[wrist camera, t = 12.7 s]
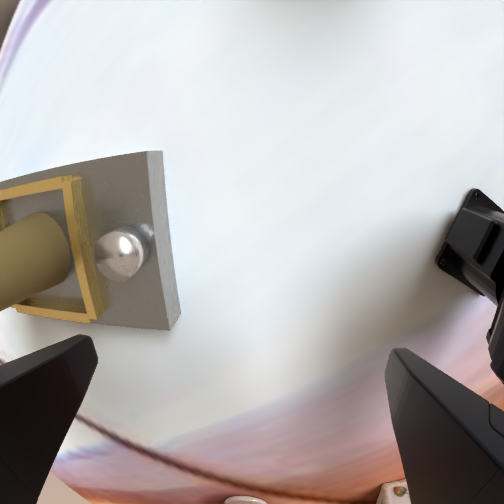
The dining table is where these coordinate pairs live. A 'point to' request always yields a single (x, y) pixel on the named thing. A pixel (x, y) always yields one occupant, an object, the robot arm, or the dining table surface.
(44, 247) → the cork
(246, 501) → the flower vase
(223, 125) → the dining table surface
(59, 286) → the grey base with knob
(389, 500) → the decorative jar
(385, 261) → the dining table surface
